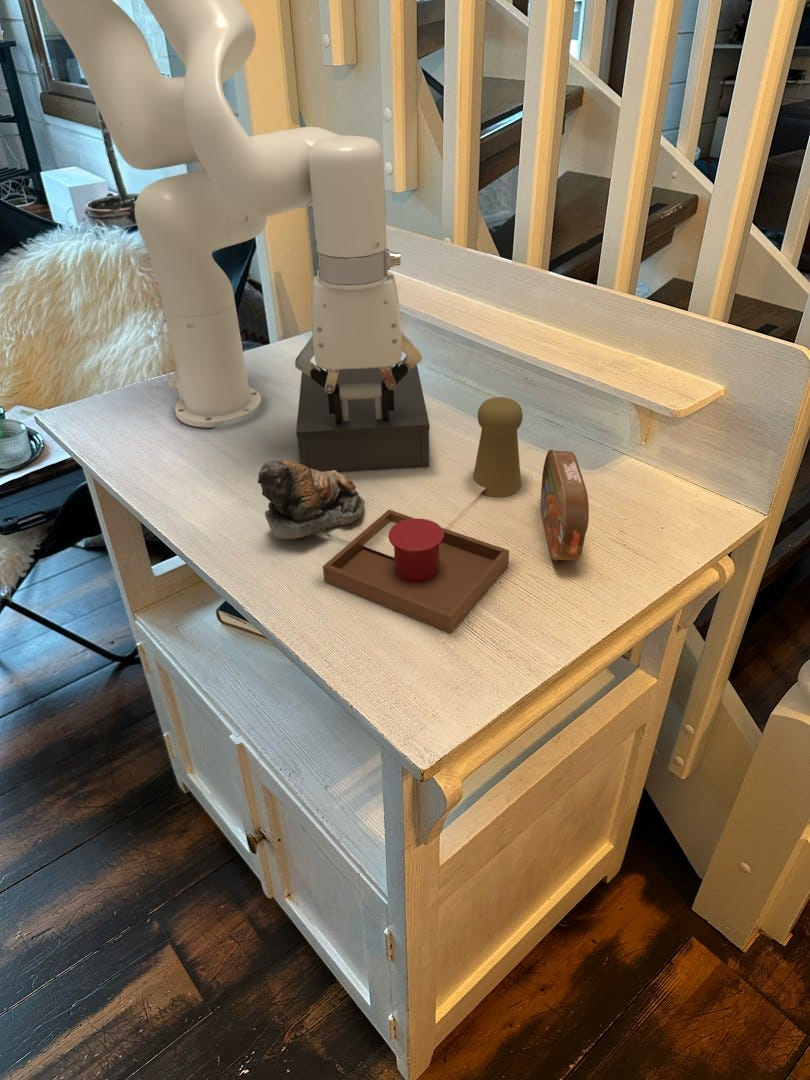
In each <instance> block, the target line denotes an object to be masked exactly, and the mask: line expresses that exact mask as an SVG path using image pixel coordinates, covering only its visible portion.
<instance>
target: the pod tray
mask: <svg viewBox="0 0 810 1080" xmlns="http://www.w3.org/2000/svg"><path fill="white" fill-rule="evenodd" d="M407 519H416V517H412V516H409V515H407V514H404V513H401V512H398V511H394V510H391V509H387V511H385V512H384V513H383V514H382V515H381V516H379V517H378V518H376V520H375V521H374V522H372V523H371V524H370V525H369V526H367V528H365V529H364V530H363V531H362V532H361V533H360V534H358V535H357V536H356V537H355V538H353V539H352V540H351V542H349V543H348V544H347V545H346V546H344V547H343V548H342V549H341V550H339V552H337V553H336V554H335V555H334V556H333V557H332V558H330V560H328V561H327V562H326V563H325V564H324V565H322V572H323V581H324V582H325V583H327V584H330V585H332V586H336V587H337V588H340V589H342V590H345V591H347V592H350V593H352V594H355V595H357V596H359V597H362V598H365V599H367V600H369V601H372V602H374V603H376V604H379V605H382V606H384V607H385V608H389V609H391V610H394V611H396V612H398V613H401V614H404V615H406V616H408V617H411V618H413V619H416V620H418V621H420V622H423V623H425V624H427V625H429V626H432V627H435V628H437V629H439V630H443V631H445V632H447V633H449V634H451V633H452V632H453V631H454V630H455V628H456V627H457V626H458V625H459V624H460V622H461V621H462V620H463V619H464V618H465V617H466V616H467V614H468V613H470V611H471V610H472V609H473V607H474V606H475V605H477V603H478V602H479V601H480V600H481V598H482V597H483V596H484V595H485V593H486V592H487V591H488V590H489V589H490V588H491V586H492V585H493V584H494V583H495V582H496V580H498V578H499V577H500V576H501V575H502V573H503V572H504V571H505V570H506V568H508V566H509V562H510V558H509V557H510V550H509V549H506V548H503V547H501V546H497V545H495V544H491V543H489V542H486V541H483V540H480V539H477V538H474V537H471V536H467V535H465V534H462V533H459V532H456V531H453V530H451V529H447V528H445V527H442V526H440V527H441V528H442V529H443V532H444V539H443V541H442V543H441V544H440V545H439V571H438V573H437V575H436V576H435V577H434V578H432V579H430V580H428V581H425V582H409V581H405V580H403V579H401V578H400V577H399V576H398V575H397V574H396V571H395V556H394V557H393V556H392V555H388V554H385V553H383V552H380V551H377V550H375V549H373V548H369V547H367V546H365V544H366V543H368V541H370V540H371V539H372V538H373V537H374V536H375V535H377V534H378V533H379V532H380V531H381V530H382V529H383V528H385V527H386V526H387V525H388V524H389V523H390V522H392V523H395V524H397V523H399V522H401V521H403V520H407Z"/></svg>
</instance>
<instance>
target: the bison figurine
mask: <svg viewBox="0 0 810 1080" xmlns="http://www.w3.org/2000/svg"><path fill="white" fill-rule="evenodd" d="M257 475H258V478H257V484H259V485H260V487H261V495H262V496H263V497H265V498H266V499H267V500H268V501H269V502H268V505H267V506H268V510H266V511H264V516H265V520H266V522H267V524H268V526H269V528H270V531H271V532H272V534H273V535H274V537H277V538H279V539H283V540H295V539H301V538H304V537H308V536H311V535H312V536H313V535H315V534H319V533H322V532H324V531H325V530H328V529H330V528H333V527H338V526H347V525H352V524H353V523H355V521H357V520H358V519H359V518H360V517H361V516H362V515H363V512H364V510H365V505H366V503H365V499H364V498H363V497H361V495H360V494H359V492H358V491H357V490H356V489H357V487H356V485H355V484H354V482H353V481H352V479H350V478H349V477H348V476H347V475H346V474H344V473H342V472H337V471H335V470H333V471H326V472H321V471H318V470H314V469H310V468H307V467H306V466H304V465H301V463H298V462H296V461H286V460H285V461H280V460H271V461H268V462H265V463H264V464H263V465H262V466H261V467H260V470H259V471H258V474H257Z"/></svg>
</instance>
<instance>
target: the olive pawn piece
mask: <svg viewBox="0 0 810 1080" xmlns="http://www.w3.org/2000/svg"><path fill="white" fill-rule="evenodd" d="M523 417H524V414H523V409H522V406H521V405H520V403H518V401H516V400H514V399H512V398H509V397H504V396H497V397H495V396H494V397H491V398H489V399H486V400H484V401H483V402H482V403H481V404H480V405H479V407H478V411H477V422H478V425H479V427H480V428H481V431H480V437H479V442H478V447H477V454H476V459H475V464H474V469H473V474H472V475H473V477H472V478H473V481H474V482H475V483H476V484H477V485H478V486H480V487H482V488H484V489H483V490H482V491H481V492H480V494H481V495H484V496H487V497H491V498H492V497H493V498H504V497H509V496H512V495H514V494H516V493H517V492H519V491H520V489H521V487H522V478H521V464H520V452H519V439H518V437H519V436H518V430H519V428H520V427H521V425H522V422H523V419H524V418H523Z"/></svg>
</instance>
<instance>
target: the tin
mask: <svg viewBox="0 0 810 1080" xmlns="http://www.w3.org/2000/svg"><path fill="white" fill-rule="evenodd" d="M541 475H542V476H541V489H540V510H541V518H542V522H543V527H544V531H545V537H546V541H547V546H548V550H549V554H550V558H551V559H552V561H558V560H560V561H577V560H578V559H580V558H581V557H582V555H583V547H584V543H585V540H586V539H585V538H586V534H587V532H588V528H589V520H590V519H589V518H590V517H589V515H590V513H589V512H590V507H589V505H590V504H589V496H588V495H589V494H588V491H587V488H586V484H585V481H584V478H583V474H582V472H581V469H580V466H579V463H578V459H577V457H576V455H575V453H574V452H572V451H567V450H554V449H549V450H548V451H547V453H546V456H545V459H544V463H543V469H542V474H541Z"/></svg>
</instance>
